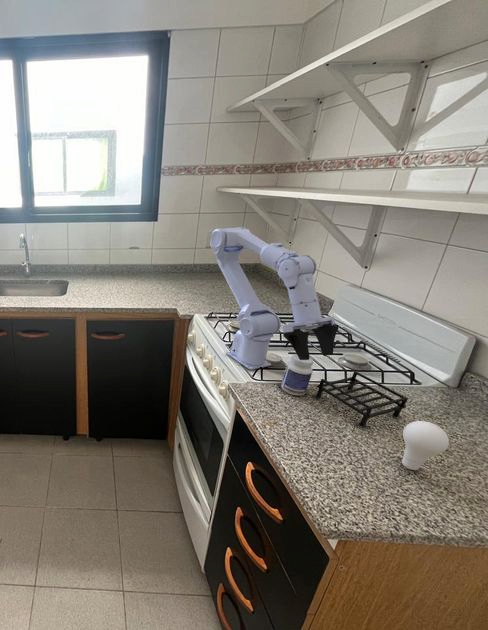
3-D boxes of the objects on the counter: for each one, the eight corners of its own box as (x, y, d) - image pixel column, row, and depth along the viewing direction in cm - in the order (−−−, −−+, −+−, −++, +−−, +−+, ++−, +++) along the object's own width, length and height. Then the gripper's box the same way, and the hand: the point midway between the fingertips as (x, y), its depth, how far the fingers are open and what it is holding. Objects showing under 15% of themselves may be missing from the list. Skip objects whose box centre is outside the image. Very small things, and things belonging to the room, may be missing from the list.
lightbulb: (388, 451, 73) (408, 410, 68) (427, 466, 69) (452, 423, 65) (388, 469, 69) (410, 426, 64) (431, 486, 65) (457, 442, 61)
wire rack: (313, 395, 90) (319, 378, 88) (348, 387, 93) (354, 370, 91) (363, 428, 79) (372, 409, 77) (400, 417, 82) (410, 398, 80)
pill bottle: (310, 396, 90) (321, 364, 86) (288, 396, 90) (298, 364, 86) (297, 383, 95) (307, 352, 91) (276, 383, 95) (285, 352, 91)
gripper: (295, 304, 80) (308, 362, 79) (342, 297, 84) (355, 352, 83) (271, 308, 87) (282, 362, 86) (315, 302, 91) (326, 353, 90)
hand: (316, 357), depth 85 cm, fingers open, 7 cm apart
